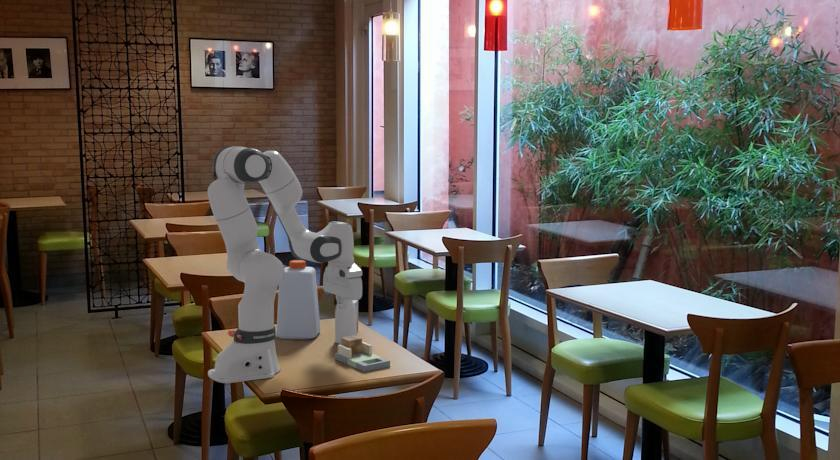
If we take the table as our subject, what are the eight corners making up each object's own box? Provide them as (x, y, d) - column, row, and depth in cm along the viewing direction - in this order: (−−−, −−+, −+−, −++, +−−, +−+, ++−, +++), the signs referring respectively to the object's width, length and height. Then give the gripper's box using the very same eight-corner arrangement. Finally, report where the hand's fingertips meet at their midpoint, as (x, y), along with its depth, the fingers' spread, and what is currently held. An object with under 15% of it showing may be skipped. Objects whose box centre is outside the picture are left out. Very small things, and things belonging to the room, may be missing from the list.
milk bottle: (359, 344, 299) (359, 289, 296) (338, 346, 296) (338, 290, 294) (353, 338, 306) (352, 285, 303) (332, 340, 303) (332, 286, 301)
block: (349, 355, 277) (349, 340, 277) (341, 352, 281) (341, 337, 281) (362, 352, 280) (362, 338, 280) (354, 349, 284) (354, 335, 284)
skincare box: (354, 334, 312) (354, 303, 310) (343, 334, 313) (343, 302, 311) (358, 330, 318) (358, 299, 316) (347, 330, 319) (347, 299, 317)
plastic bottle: (282, 329, 319) (281, 257, 315) (321, 330, 318) (321, 258, 314) (274, 340, 304) (272, 264, 300) (315, 340, 303) (314, 264, 300)
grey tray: (364, 372, 266) (364, 356, 265) (335, 358, 280) (335, 344, 279) (390, 366, 272) (390, 351, 271) (360, 354, 286) (360, 339, 285)
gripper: (317, 265, 289) (319, 304, 291) (349, 274, 273) (350, 315, 275) (333, 263, 293) (334, 301, 295) (365, 271, 276) (366, 312, 278)
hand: (342, 308), depth 284 cm, fingers closed
